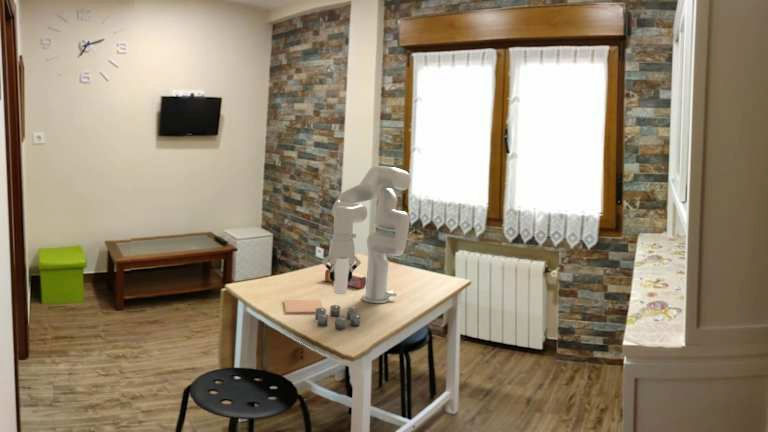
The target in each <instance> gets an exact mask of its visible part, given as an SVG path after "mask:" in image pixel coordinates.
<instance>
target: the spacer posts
mask: <svg viewBox="0 0 768 432" xmlns="http://www.w3.org/2000/svg"><path fill="white" fill-rule="evenodd" d="M326 311H327V310H326V308H324V307H323V308H317V309H316V314H315V317H314V319H315V320H316V321H317V324H316V325H317V327H319V328H326V327H328V323H329V322H328V321H329V317H330V318H335V322H334V329H335V330H336V331H344V330H346V320H348V321H349V326H350V327H355V328H357V327H360V325H361V315H360V314H358V309H357V308H355V307H349V308H347V312H346V318H345V317H342V316H341V306H340V305H336V304H335V305H334V304H333V305H330V311H329V315H328V314H326Z"/></svg>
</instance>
